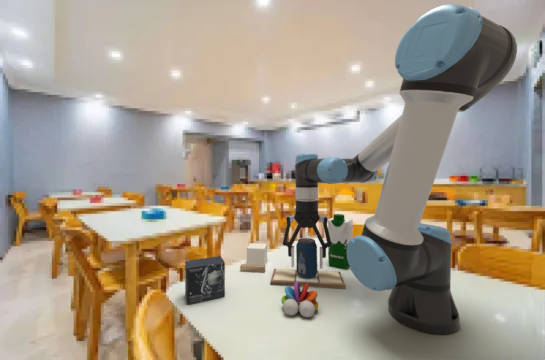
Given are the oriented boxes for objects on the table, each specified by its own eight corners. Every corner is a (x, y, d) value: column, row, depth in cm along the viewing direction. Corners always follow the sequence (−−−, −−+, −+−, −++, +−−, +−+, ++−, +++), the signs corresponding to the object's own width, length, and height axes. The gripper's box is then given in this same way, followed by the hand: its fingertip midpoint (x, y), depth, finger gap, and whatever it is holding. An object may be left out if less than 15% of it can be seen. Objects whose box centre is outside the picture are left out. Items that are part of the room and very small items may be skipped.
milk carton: (325, 266, 94) (325, 214, 94) (333, 259, 102) (333, 211, 102) (348, 271, 90) (348, 216, 89) (354, 263, 97) (354, 213, 97)
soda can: (316, 271, 86) (316, 237, 86) (318, 280, 79) (317, 243, 79) (296, 271, 87) (296, 237, 86) (296, 279, 80) (296, 242, 79)
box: (187, 306, 66) (186, 268, 66) (184, 295, 72) (184, 260, 72) (225, 297, 71) (225, 261, 71) (220, 288, 77) (220, 255, 77)
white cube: (264, 248, 94) (267, 243, 101) (246, 248, 95) (250, 243, 102) (264, 266, 95) (267, 260, 101) (246, 266, 95) (250, 259, 102)
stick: (264, 272, 89) (264, 267, 89) (240, 271, 90) (240, 266, 90) (265, 270, 91) (265, 265, 91) (241, 269, 92) (241, 264, 92)
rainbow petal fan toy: (318, 321, 59) (318, 292, 59) (278, 317, 61) (278, 288, 61) (318, 303, 67) (318, 277, 67) (284, 300, 69) (284, 274, 69)
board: (345, 288, 76) (345, 284, 76) (270, 284, 79) (270, 280, 79) (340, 274, 87) (340, 270, 87) (274, 271, 90) (274, 267, 90)
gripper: (338, 199, 84) (338, 263, 85) (276, 198, 87) (276, 261, 88) (341, 201, 77) (341, 272, 78) (273, 200, 80) (273, 269, 80)
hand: (306, 266), depth 83 cm, fingers open, 9 cm apart
